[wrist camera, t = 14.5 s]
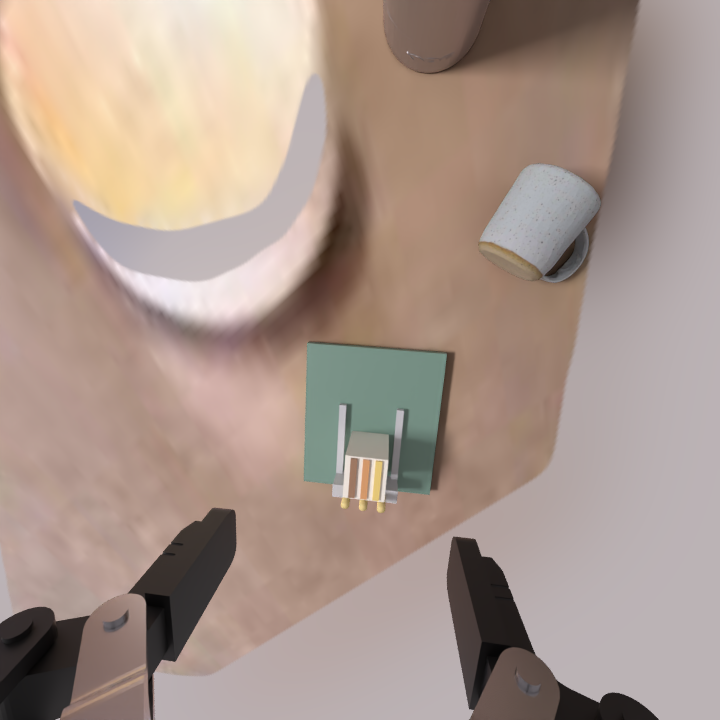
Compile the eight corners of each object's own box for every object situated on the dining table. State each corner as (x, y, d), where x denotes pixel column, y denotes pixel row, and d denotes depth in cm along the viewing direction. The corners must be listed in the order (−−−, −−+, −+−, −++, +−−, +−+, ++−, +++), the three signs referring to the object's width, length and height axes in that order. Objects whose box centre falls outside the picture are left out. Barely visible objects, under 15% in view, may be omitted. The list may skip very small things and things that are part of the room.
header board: (309, 341, 39) (294, 352, 33) (445, 352, 38) (456, 365, 32) (305, 476, 44) (291, 508, 37) (428, 489, 42) (435, 525, 36)
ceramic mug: (465, 250, 36) (485, 243, 28) (511, 177, 34) (546, 148, 26) (547, 300, 36) (588, 306, 29) (597, 231, 34) (655, 217, 27)
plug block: (351, 430, 40) (345, 456, 34) (388, 434, 40) (388, 461, 34) (349, 467, 42) (342, 498, 36) (385, 471, 41) (384, 503, 35)
